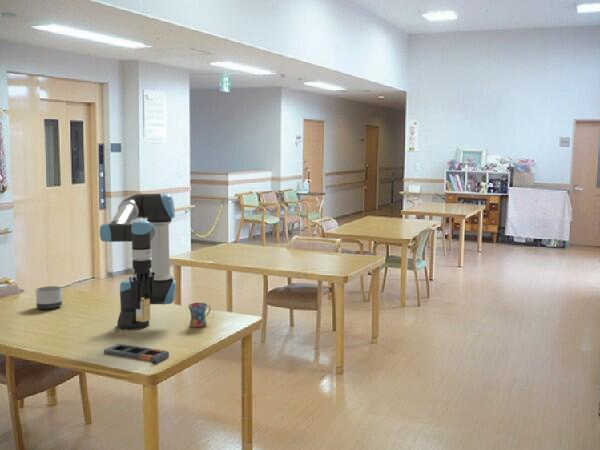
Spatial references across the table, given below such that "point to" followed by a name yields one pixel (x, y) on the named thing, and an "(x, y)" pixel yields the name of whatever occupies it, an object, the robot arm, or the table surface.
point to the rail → (138, 353)
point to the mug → (198, 314)
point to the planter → (49, 297)
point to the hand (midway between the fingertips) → (143, 315)
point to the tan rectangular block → (145, 310)
